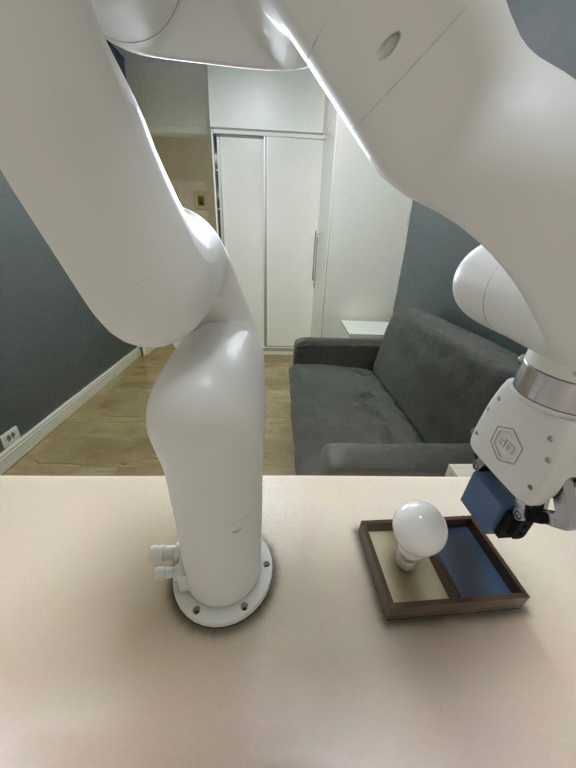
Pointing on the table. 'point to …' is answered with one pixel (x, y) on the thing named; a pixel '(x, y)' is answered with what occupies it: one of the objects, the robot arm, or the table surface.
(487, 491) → the block
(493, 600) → the sorting tray
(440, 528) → the lightbulb
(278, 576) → the table surface
